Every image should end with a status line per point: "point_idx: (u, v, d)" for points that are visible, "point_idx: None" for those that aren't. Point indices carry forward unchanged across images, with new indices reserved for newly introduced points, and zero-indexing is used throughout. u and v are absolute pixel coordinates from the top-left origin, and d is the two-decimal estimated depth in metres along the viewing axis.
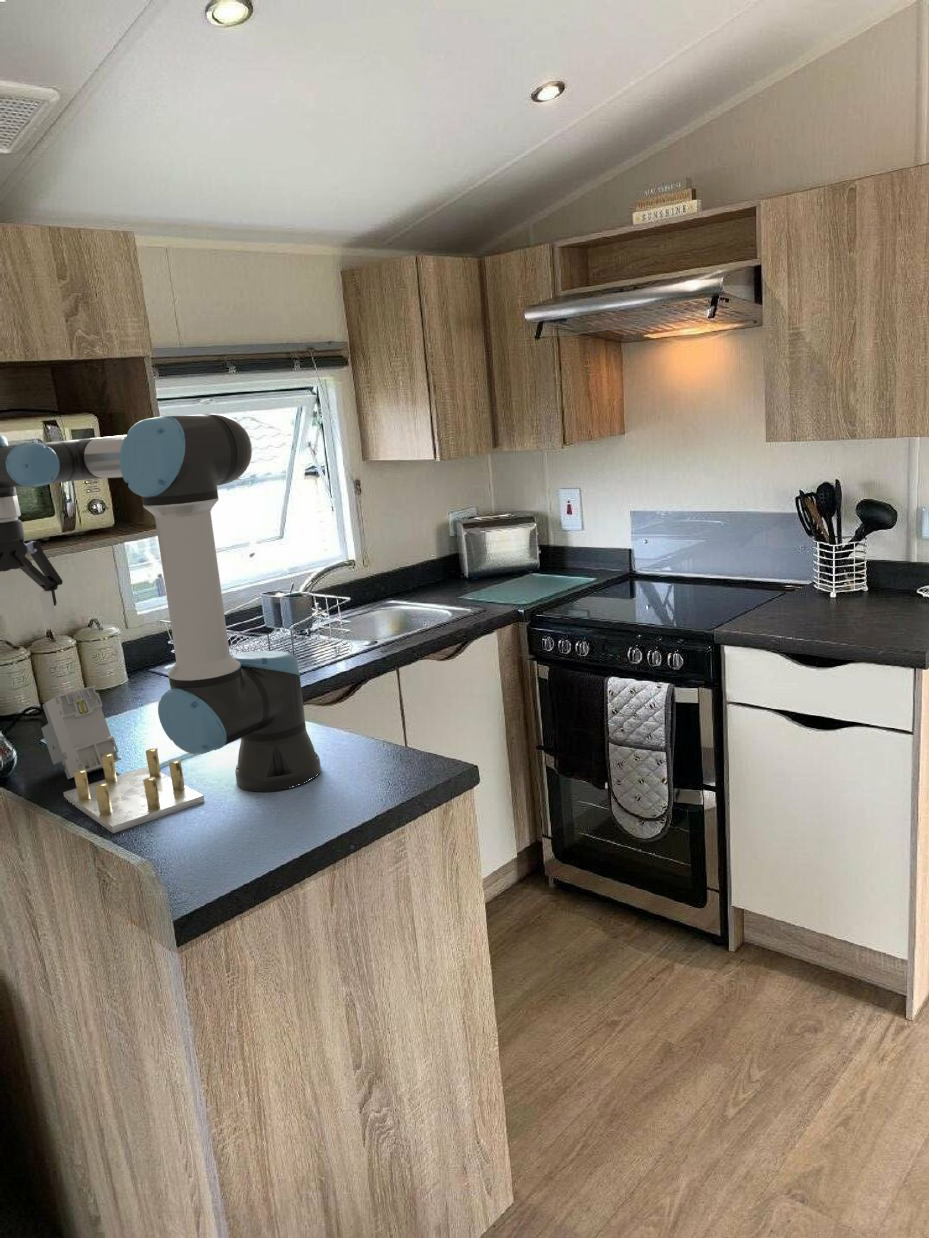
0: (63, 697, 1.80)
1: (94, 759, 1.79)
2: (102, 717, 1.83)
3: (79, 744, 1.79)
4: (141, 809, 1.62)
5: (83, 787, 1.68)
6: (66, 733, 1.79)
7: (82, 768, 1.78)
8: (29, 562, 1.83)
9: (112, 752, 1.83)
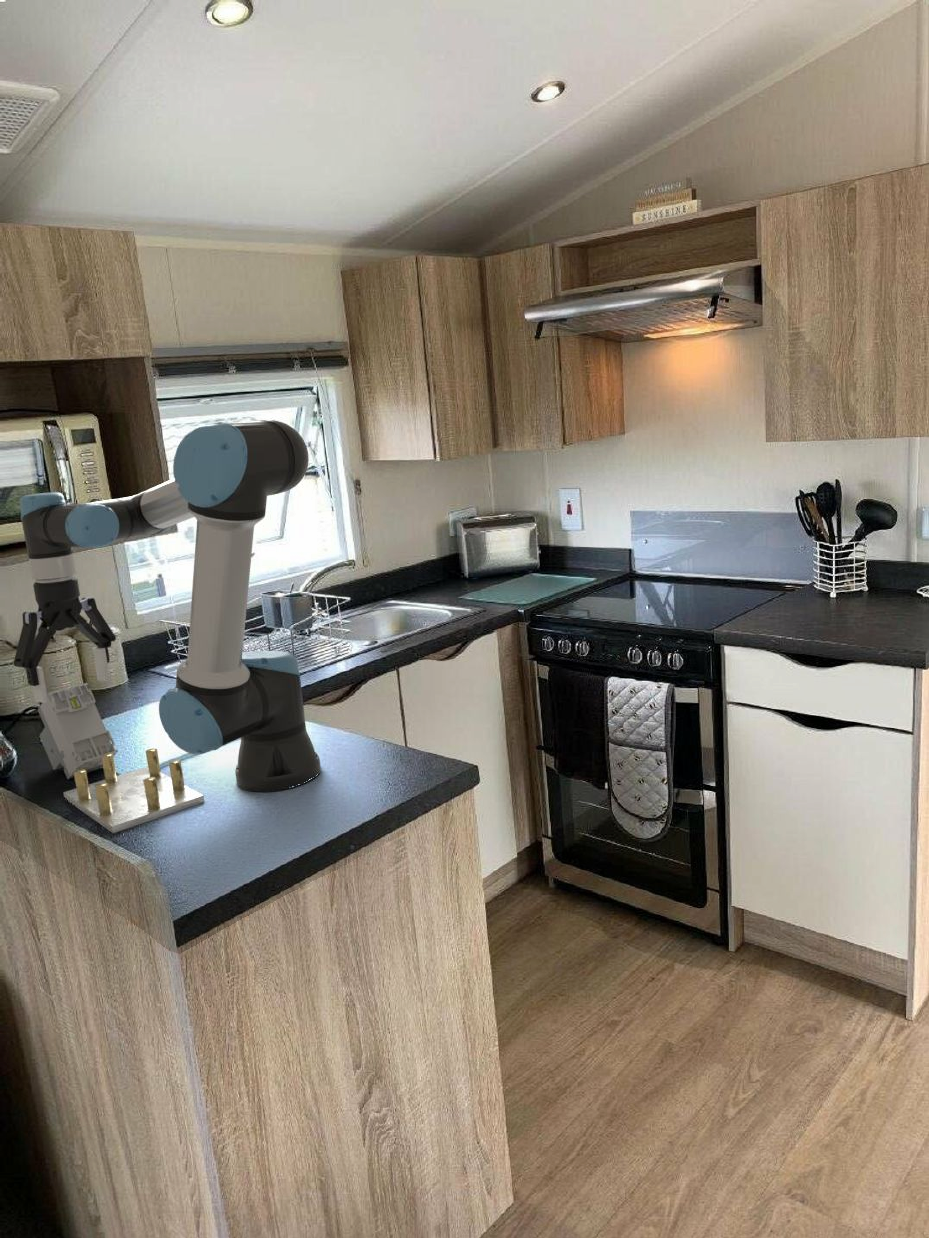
0: (55, 695, 1.82)
1: (90, 751, 1.80)
2: (96, 713, 1.85)
3: (74, 739, 1.80)
4: (141, 809, 1.62)
5: (83, 787, 1.68)
6: (61, 729, 1.80)
7: (79, 761, 1.78)
8: (84, 620, 1.79)
9: (109, 745, 1.83)
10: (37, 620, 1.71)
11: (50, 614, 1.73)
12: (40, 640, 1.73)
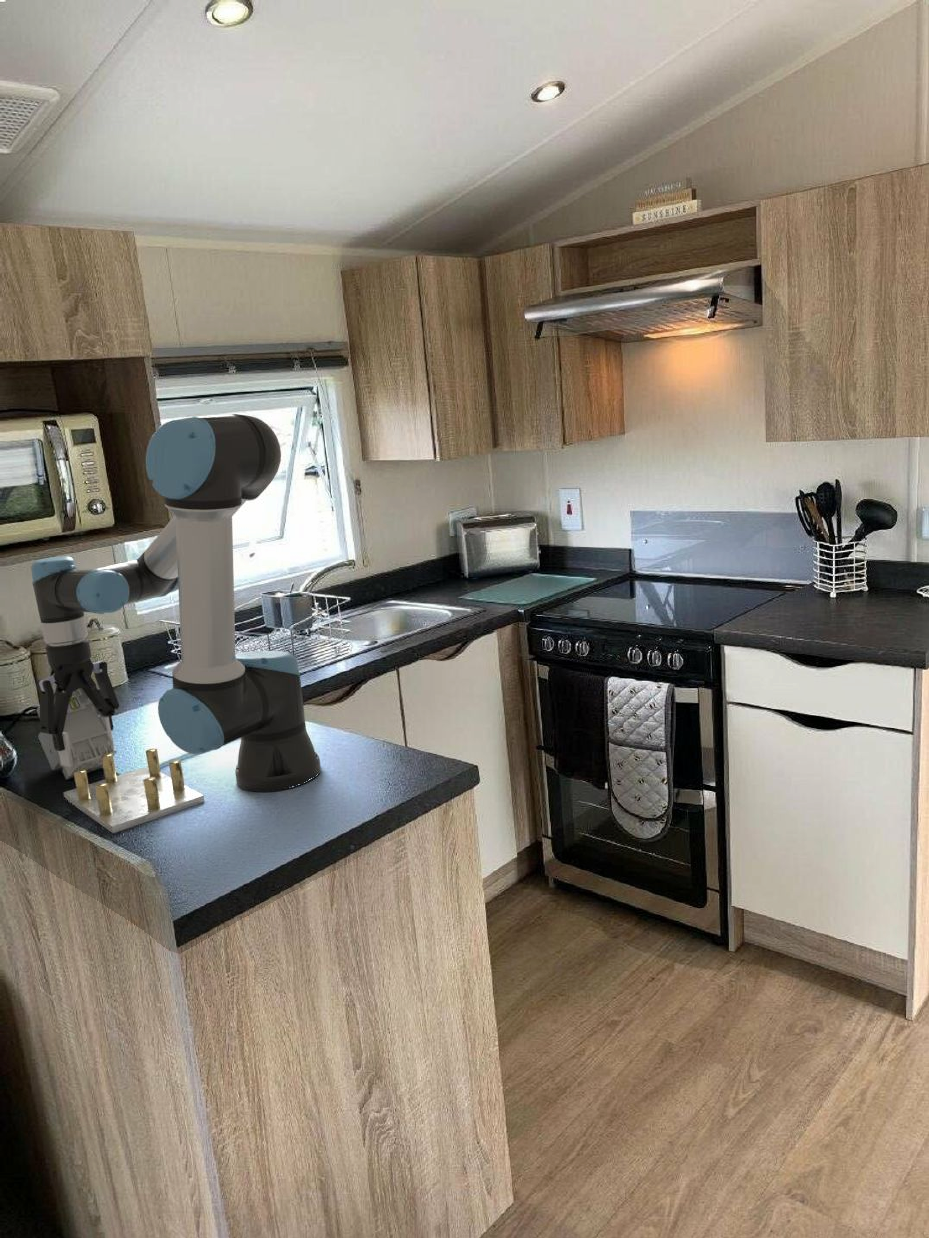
0: (54, 695, 1.82)
1: (89, 752, 1.80)
2: (95, 713, 1.85)
3: (73, 739, 1.80)
4: (141, 809, 1.62)
5: (83, 787, 1.68)
6: None
7: (78, 761, 1.78)
8: (93, 683, 1.81)
9: (107, 746, 1.83)
10: (52, 686, 1.74)
11: (63, 676, 1.76)
12: (59, 705, 1.77)
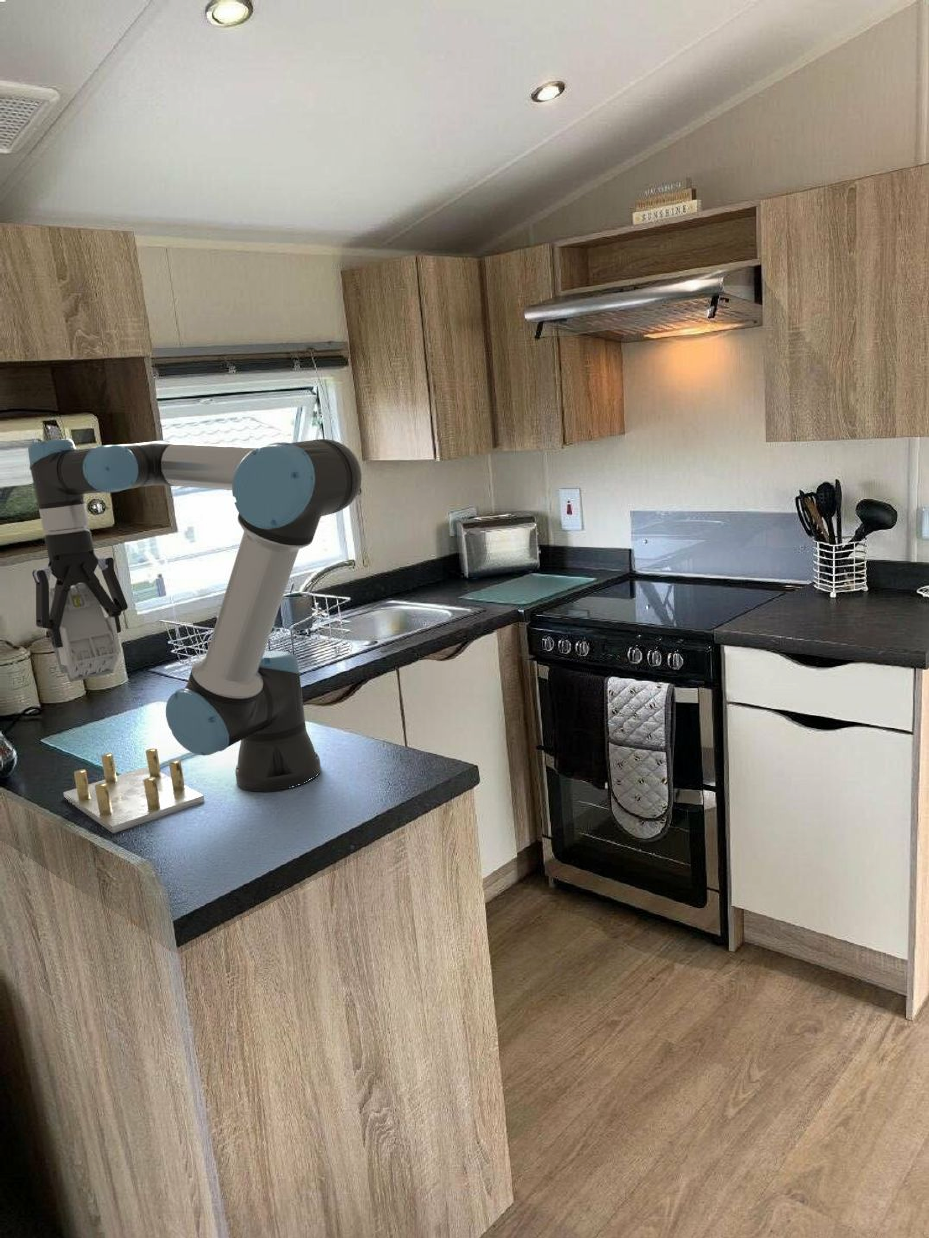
0: None
1: (88, 652, 1.68)
2: (101, 613, 1.72)
3: (73, 637, 1.68)
4: (141, 809, 1.62)
5: (83, 787, 1.68)
6: (60, 626, 1.69)
7: (75, 660, 1.66)
8: (96, 579, 1.69)
9: (110, 647, 1.70)
10: (47, 577, 1.63)
11: (60, 567, 1.65)
12: (57, 599, 1.65)
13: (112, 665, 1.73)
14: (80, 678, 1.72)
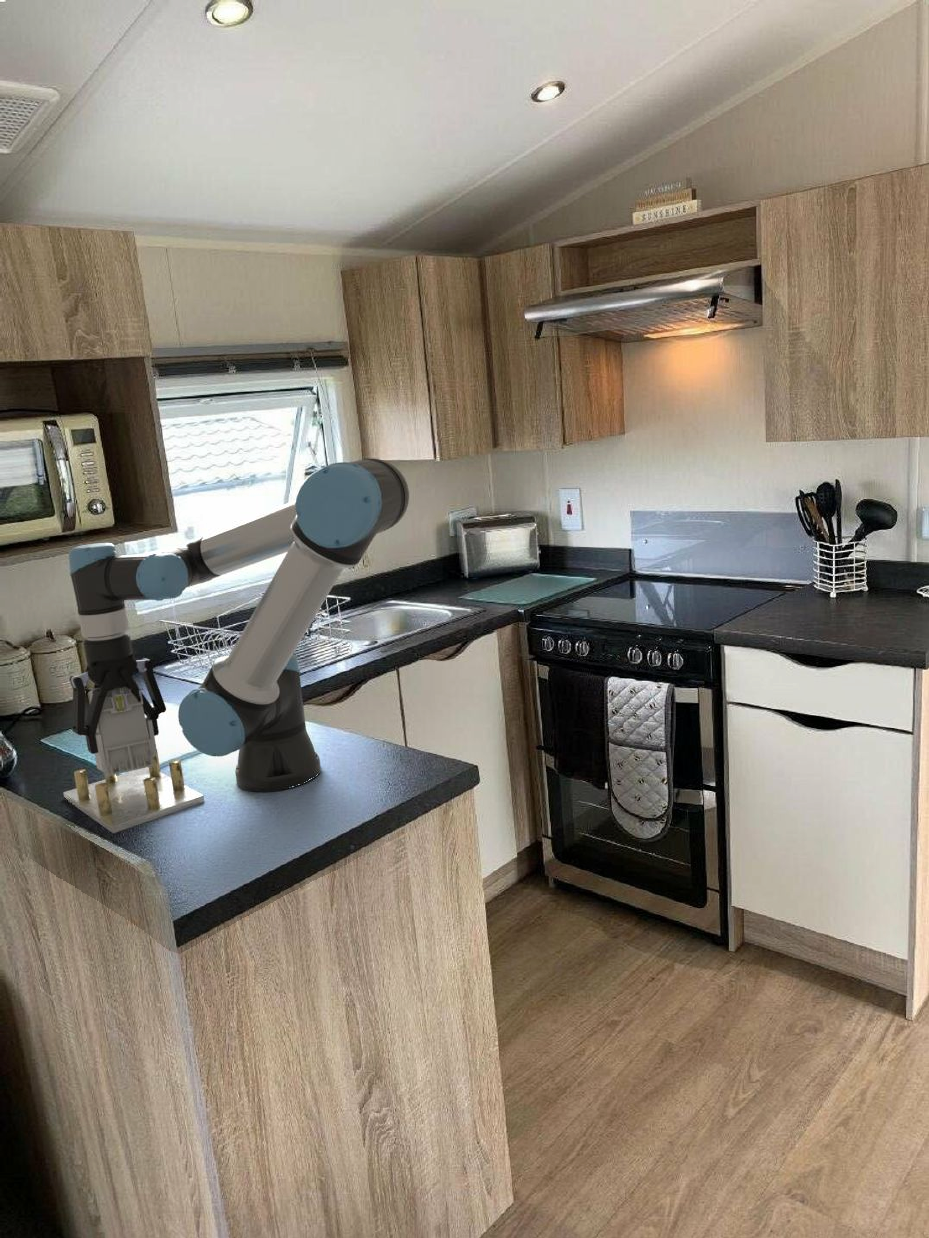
0: None
1: (125, 762, 1.64)
2: (142, 716, 1.67)
3: (111, 744, 1.64)
4: (141, 809, 1.62)
5: (83, 787, 1.68)
6: (100, 730, 1.64)
7: (111, 771, 1.63)
8: (134, 683, 1.66)
9: (148, 756, 1.67)
10: (83, 684, 1.60)
11: (97, 673, 1.62)
12: (94, 704, 1.63)
13: None
14: None
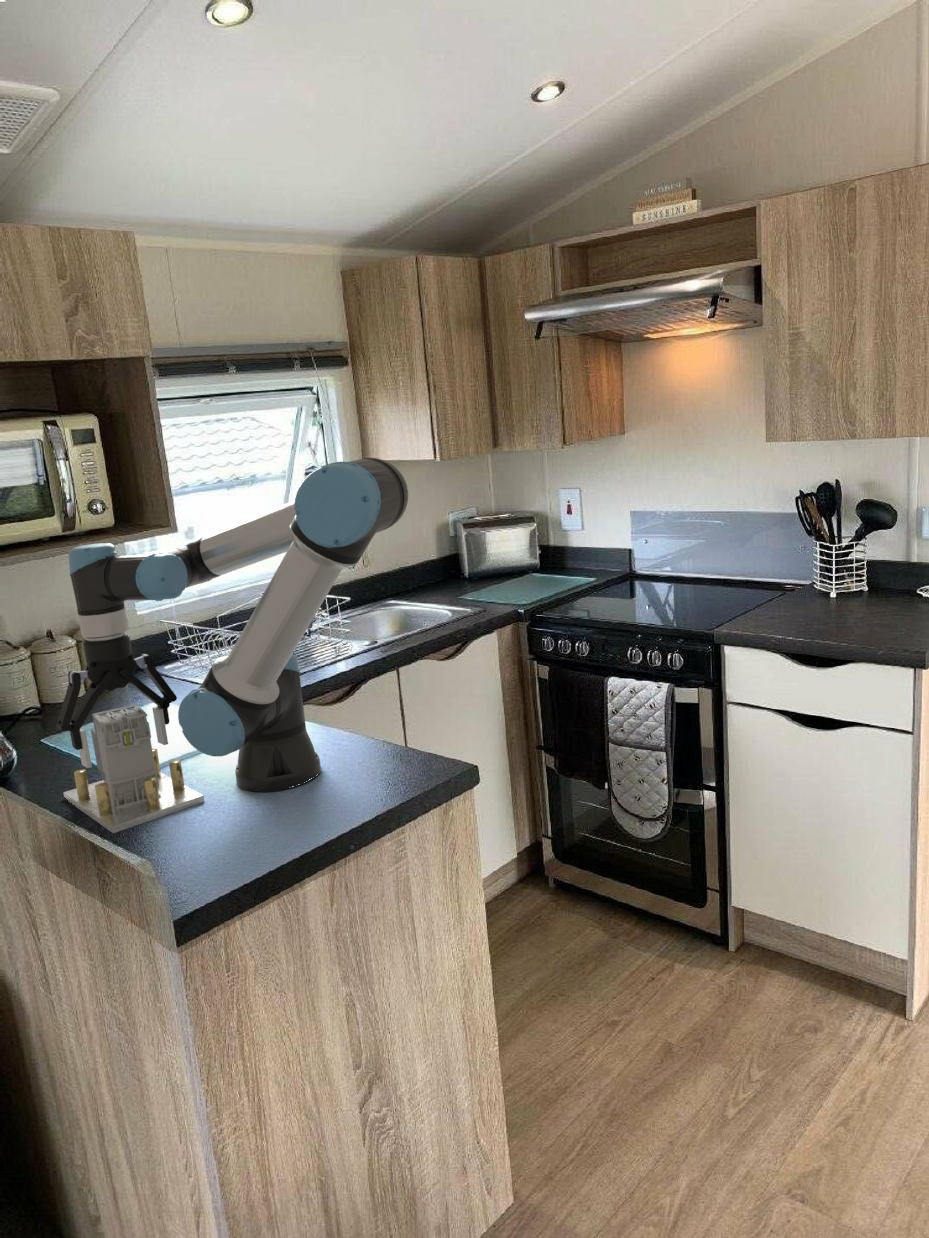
0: (109, 724, 1.61)
1: (131, 795, 1.64)
2: (149, 748, 1.65)
3: (117, 777, 1.63)
4: (141, 809, 1.62)
5: (83, 787, 1.68)
6: (106, 762, 1.63)
7: (116, 803, 1.64)
8: (137, 680, 1.66)
9: None
10: (81, 681, 1.60)
11: (97, 674, 1.62)
12: (85, 701, 1.62)
13: None
14: None
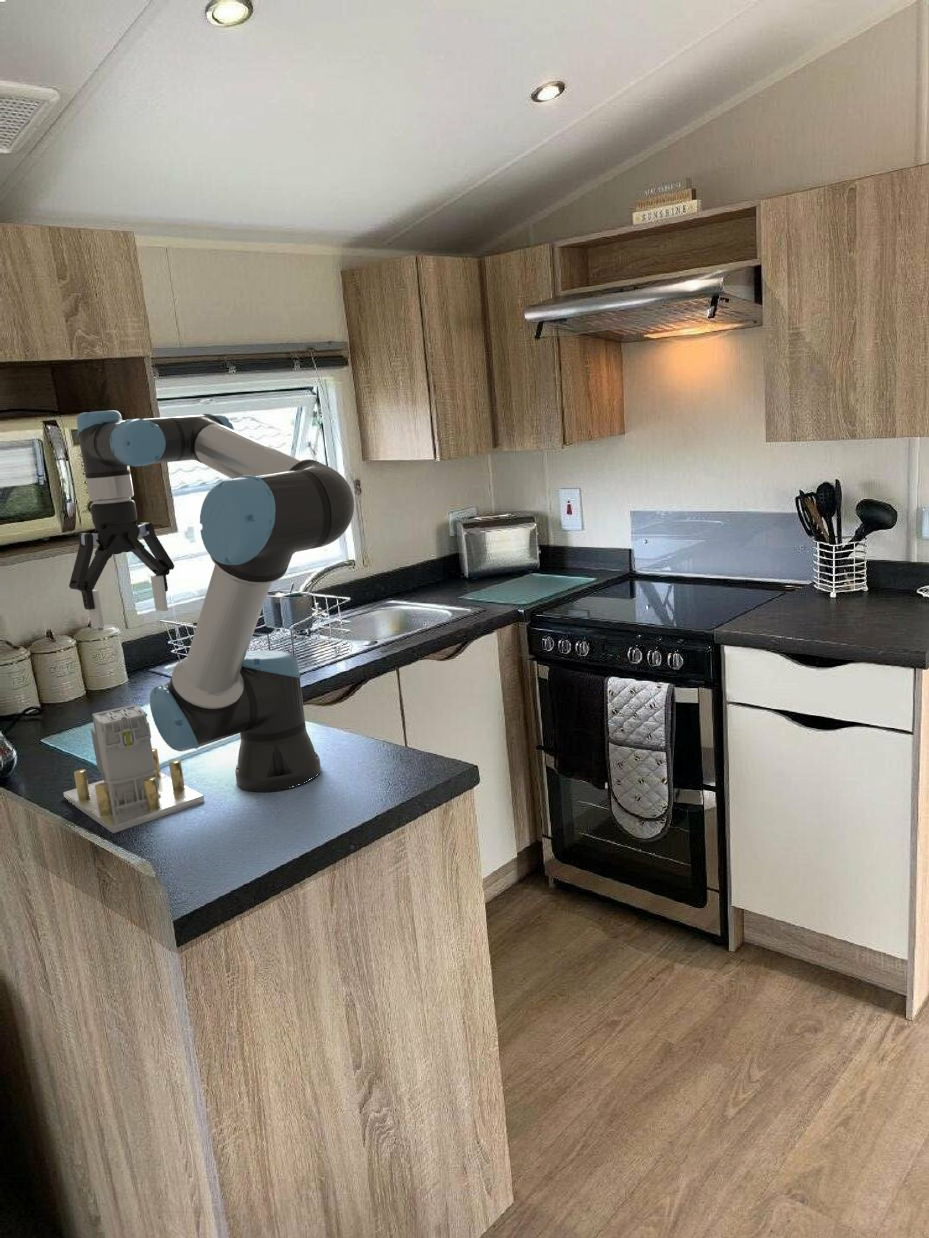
0: (109, 724, 1.61)
1: (131, 795, 1.64)
2: (149, 748, 1.65)
3: (118, 777, 1.63)
4: (141, 809, 1.62)
5: (83, 787, 1.68)
6: (106, 762, 1.63)
7: (116, 803, 1.64)
8: (141, 545, 1.73)
9: None
10: (93, 541, 1.66)
11: (107, 536, 1.68)
12: (96, 563, 1.68)
13: None
14: None
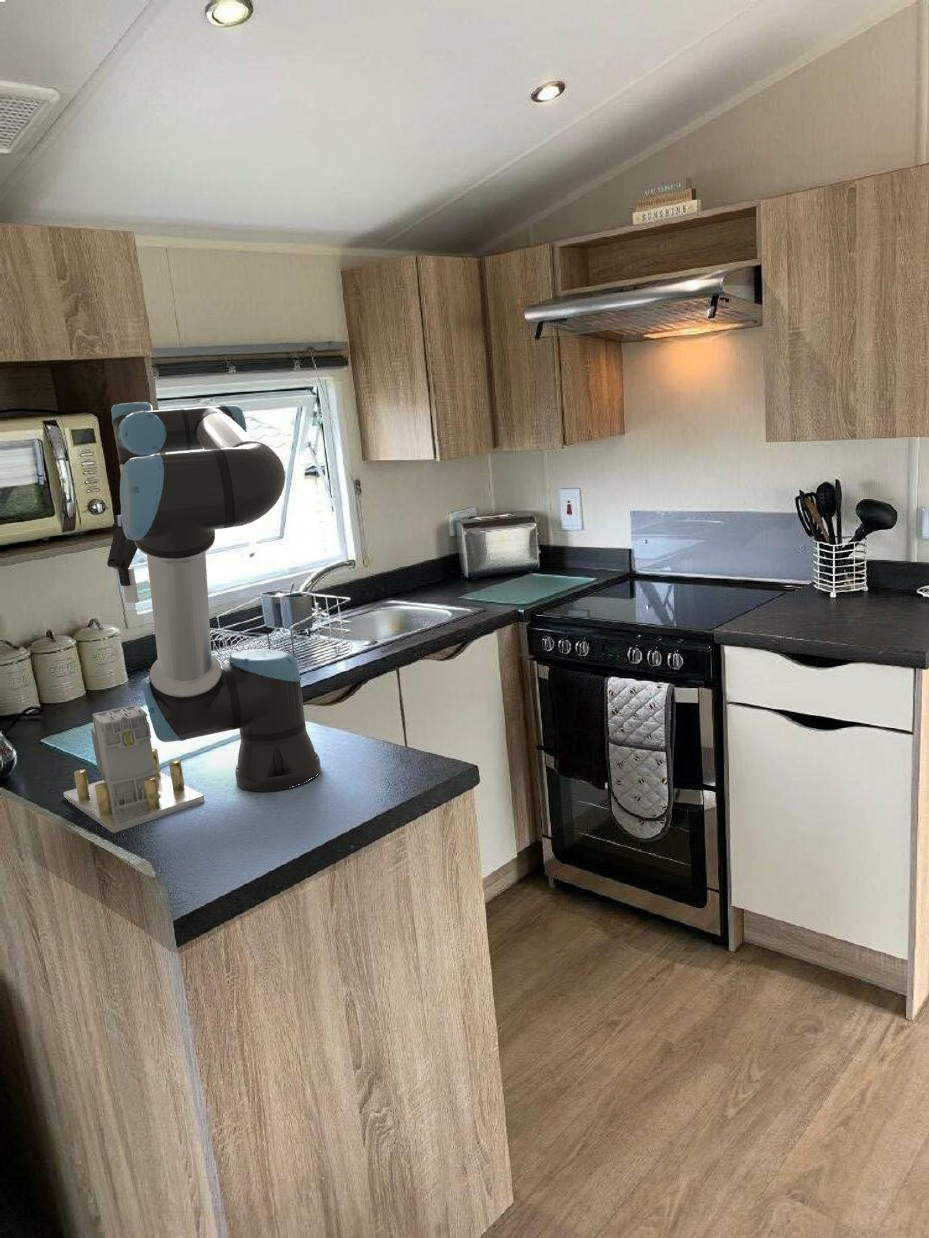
0: (109, 724, 1.61)
1: (131, 795, 1.64)
2: (149, 748, 1.65)
3: (118, 777, 1.63)
4: (141, 809, 1.62)
5: (83, 787, 1.68)
6: (106, 762, 1.63)
7: (116, 803, 1.64)
8: None
9: None
10: None
11: None
12: (131, 543, 1.81)
13: None
14: None
